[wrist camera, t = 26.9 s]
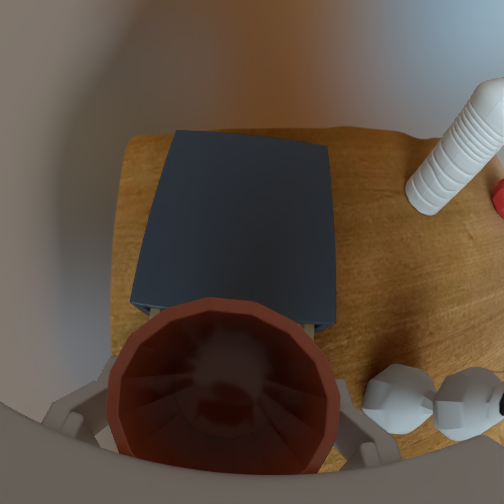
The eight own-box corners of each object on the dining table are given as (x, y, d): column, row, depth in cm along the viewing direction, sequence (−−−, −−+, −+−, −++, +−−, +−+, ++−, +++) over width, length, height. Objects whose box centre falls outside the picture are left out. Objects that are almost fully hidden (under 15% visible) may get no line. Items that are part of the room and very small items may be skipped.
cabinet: (303, 338, 28) (336, 323, 19) (159, 323, 28) (129, 302, 19) (305, 198, 35) (327, 145, 26) (186, 186, 34) (176, 129, 25)
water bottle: (397, 179, 38) (487, 47, 15) (427, 179, 38) (514, 65, 15) (420, 232, 34) (542, 107, 11) (449, 228, 35) (560, 122, 12)
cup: (166, 432, 13) (105, 488, 5) (176, 328, 16) (122, 284, 8) (278, 444, 14) (326, 510, 5) (286, 339, 16) (344, 307, 8)
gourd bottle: (379, 350, 28) (531, 308, 10) (421, 386, 26) (566, 370, 8) (338, 408, 25) (485, 441, 7) (385, 442, 24) (527, 478, 5)
